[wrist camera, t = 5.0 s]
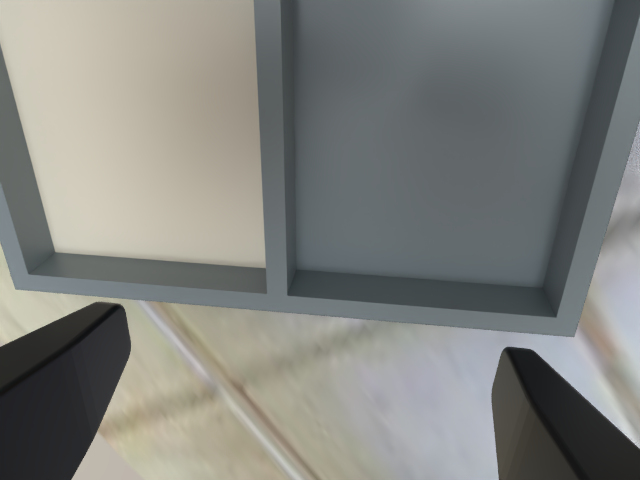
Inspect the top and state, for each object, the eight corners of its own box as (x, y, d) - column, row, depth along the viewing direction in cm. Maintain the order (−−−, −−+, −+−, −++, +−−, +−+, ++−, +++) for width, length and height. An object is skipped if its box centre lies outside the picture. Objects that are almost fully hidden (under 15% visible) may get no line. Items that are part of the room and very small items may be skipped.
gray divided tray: (555, 299, 21) (573, 336, 19) (50, 259, 24) (15, 289, 21) (651, -58, 15) (694, -63, 13) (-37, -61, 18) (-98, -66, 16)
